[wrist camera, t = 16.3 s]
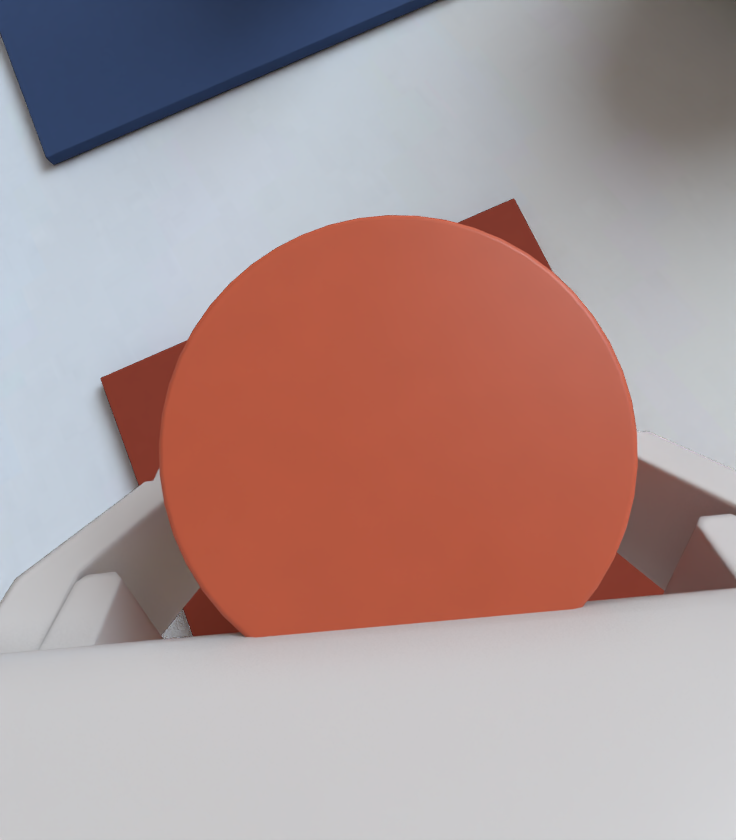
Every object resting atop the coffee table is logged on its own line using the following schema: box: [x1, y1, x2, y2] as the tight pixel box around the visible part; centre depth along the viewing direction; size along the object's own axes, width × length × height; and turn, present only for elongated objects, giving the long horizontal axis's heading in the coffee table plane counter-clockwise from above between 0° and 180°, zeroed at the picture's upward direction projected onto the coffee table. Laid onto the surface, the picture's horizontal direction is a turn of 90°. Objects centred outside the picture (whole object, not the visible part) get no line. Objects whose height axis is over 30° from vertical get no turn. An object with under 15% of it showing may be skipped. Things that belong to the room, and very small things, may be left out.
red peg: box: [159, 215, 638, 638], centre depth 9 cm, size 4×4×10 cm
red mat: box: [101, 199, 664, 636], centre depth 18 cm, size 18×16×1 cm
